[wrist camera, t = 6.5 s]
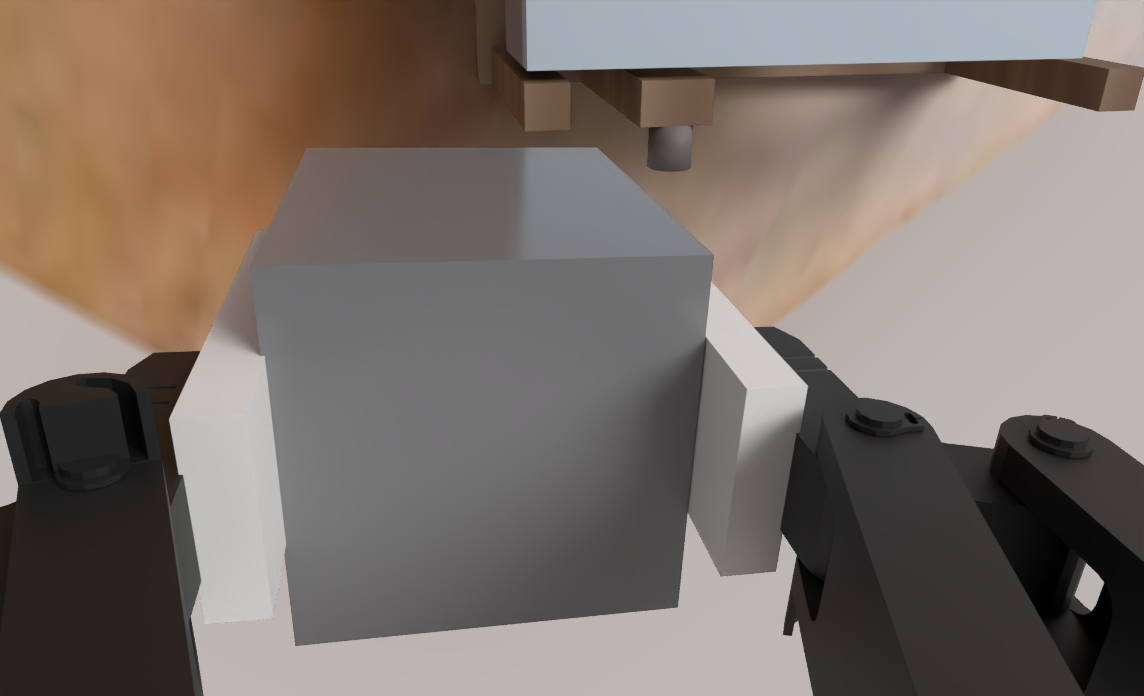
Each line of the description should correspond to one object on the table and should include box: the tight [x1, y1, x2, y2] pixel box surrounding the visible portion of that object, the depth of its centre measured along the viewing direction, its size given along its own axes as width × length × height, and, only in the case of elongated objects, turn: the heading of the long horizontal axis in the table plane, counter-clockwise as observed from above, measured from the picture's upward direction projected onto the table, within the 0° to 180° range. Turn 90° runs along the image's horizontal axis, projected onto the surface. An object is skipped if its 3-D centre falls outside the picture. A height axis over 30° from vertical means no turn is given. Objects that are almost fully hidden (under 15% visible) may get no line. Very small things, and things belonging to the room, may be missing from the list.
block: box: [250, 147, 714, 646], centre depth 15 cm, size 6×6×7 cm
